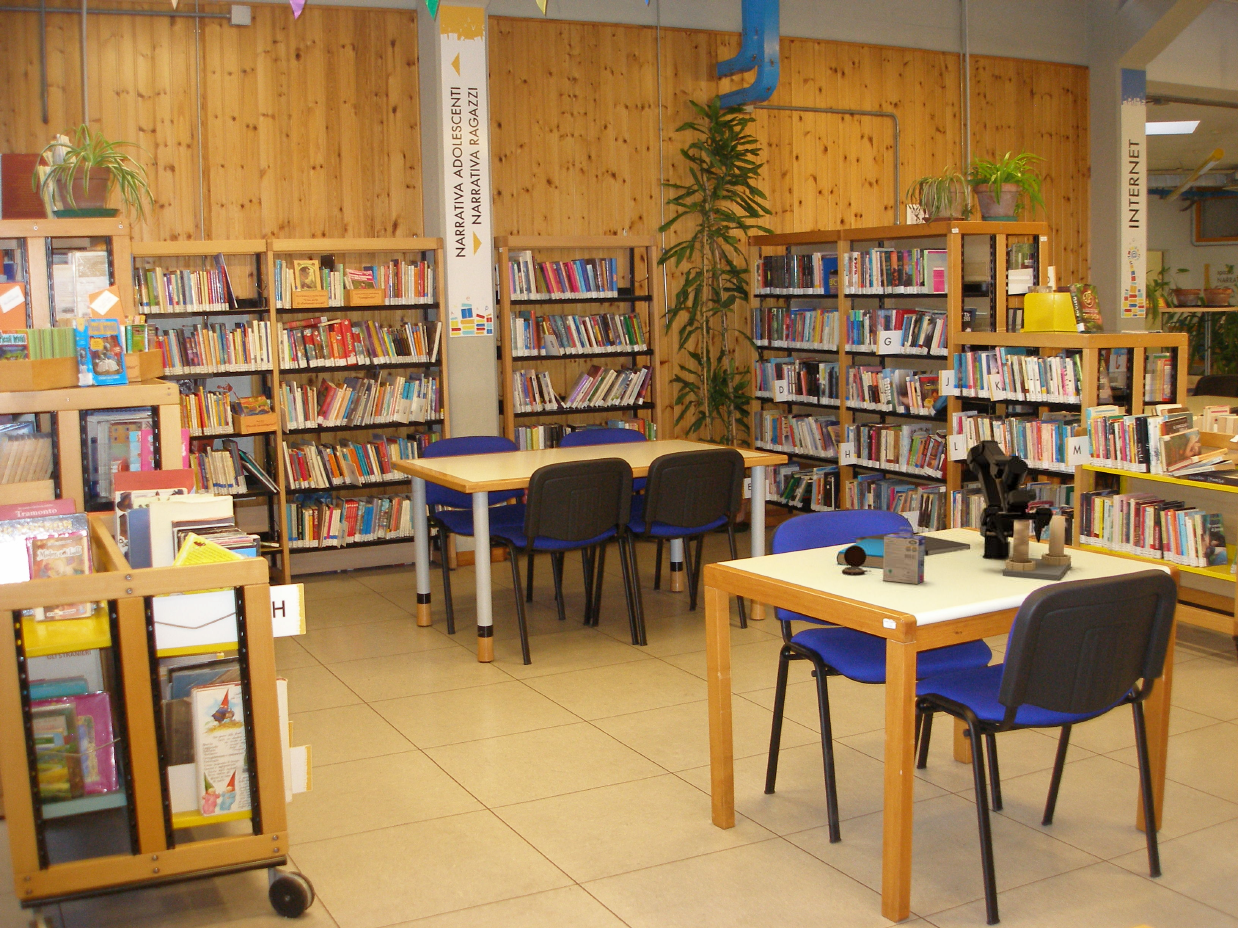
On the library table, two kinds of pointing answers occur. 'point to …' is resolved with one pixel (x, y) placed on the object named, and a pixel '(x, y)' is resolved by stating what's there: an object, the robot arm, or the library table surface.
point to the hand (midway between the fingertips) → (1021, 541)
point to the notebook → (929, 544)
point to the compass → (854, 560)
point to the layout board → (1040, 571)
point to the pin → (1021, 541)
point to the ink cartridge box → (904, 557)
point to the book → (867, 553)
